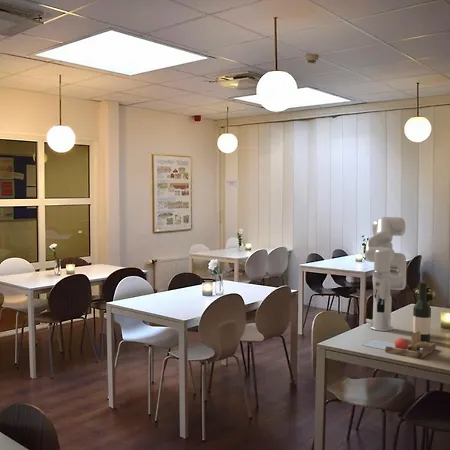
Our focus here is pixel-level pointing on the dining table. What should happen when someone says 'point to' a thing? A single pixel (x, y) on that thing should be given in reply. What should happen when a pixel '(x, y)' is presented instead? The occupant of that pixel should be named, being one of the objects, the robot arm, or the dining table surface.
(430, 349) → the wooden tray
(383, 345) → the lane strip
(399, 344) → the ball
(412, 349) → the pin
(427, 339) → the wine bottle
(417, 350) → the pin
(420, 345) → the front pin
